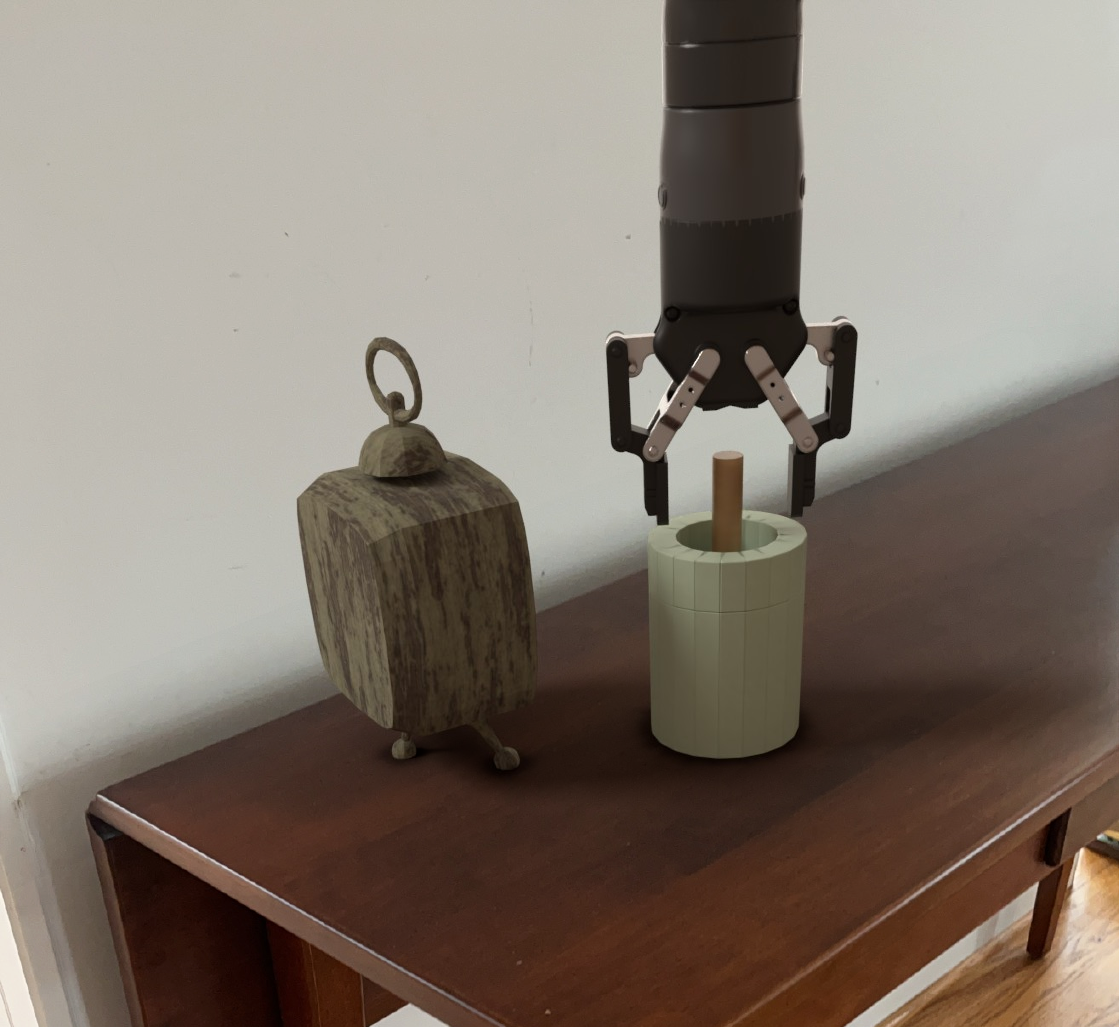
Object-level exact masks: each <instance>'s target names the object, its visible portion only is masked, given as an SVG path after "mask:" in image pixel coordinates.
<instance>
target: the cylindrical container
mask: <svg viewBox="0 0 1119 1027" xmlns="http://www.w3.org/2000/svg"><path fill="white" fill-rule="evenodd" d="M807 552H808V533H807V531H806V528H805V526H804V525H802V523H799V522H798V521H797V520H795V519H794V518H793V519H792V518H790V517H786V516H783V515H780V514H776V513H772V512H767V511H759V510H747V509H743V511H742V551H741V552H725V553H721V552H712V510H705V511H699V512H693V513H687V514H683V515H680V516H676V517H672V518H669V525H662V526H657V525H655V526H654V527H653V529H651V531H650V532H649V533H647V564H648V565H647V571H648V574H647V575H648V576H647V577H648V581H647V582H648V625H649V626H648V628H649V630H648V632H649V672H650V673H649V676H650V724H651V733H652V735H653V736H654V737H655V739H657V741H658V742H659V743H660V744H661V745H663V746H665V747H667V748H669V749H671V750H672V751H674V752H678V753H682V754H685V755H689V756H693V757H698V758H707V759H708V758H710V759H720V760H721V759H739V758H740V759H741V758H747V757H751V756H757V755H761V754H765V753H768V752H772V751H773V750H776V749H778V748H781V747H782V746H784V745H786V744H788V742H789V741H791V740H792V739H793V738H794V737H795V736H796V733H797V731H798V729H799V726H800V706H801V705H800V704H801V686H802V684H801V683H802V682H801V681H802V663H803V644H804V643H803V639H804V618H805V600H806V599H805V598H806V597H805V595H806V579H807V578H806V574H807V556H808V555H807V554H808V553H807Z"/></svg>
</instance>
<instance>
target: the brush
mask: <svg viewBox="0 0 1119 1027" xmlns="http://www.w3.org/2000/svg"><path fill="white" fill-rule="evenodd" d="M744 460H745V459H744V453H743V452H741V451H738V450H721V451H717V452H715V453H713V454H712V456H711V511H712V552H721V553H725V552H741V551H742V511H743V510H744V509H743V507H744V504H743V502H744V501H743V500H744Z"/></svg>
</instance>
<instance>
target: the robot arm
mask: <svg viewBox="0 0 1119 1027" xmlns="http://www.w3.org/2000/svg"><path fill="white" fill-rule="evenodd" d="M805 1H806V0H662V3H661V4H662V5H661V22H660V23H661V24H660V25H661V26H660V27H661V29H660V31H661V32H660V33H661V38H660V39H661V42H662V43H661V93H662V95H661V97H662V98H661V99H662V100H661V101H662V102H661V103H662V104H663V106H662V112H661V114H662V115H661V129H660V138H659V148H658V188H657V201H658V202H657V203H658V205H659V206H658V211H659V212H658V217H659V218H658V220H659V276H660V277H659V280H660V281H659V282H660V284H659V285H660V313H659V314H660V315H659V319H658V322H657V324H656V326H655V328H654V331H653V332H645V333H631V334H624V332H623V331H620V330H613V331H611V332H609V333H608V334H607V336H606V338H605V357H606V358H605V360H606V376H607V378H606V379H607V397H608V399H607V400H608V414H609V415H608V417H609V434H610V445H611V448H612V449H613V450H614V451H615V452H617V453H625V452H626V453H629V454H631V455H635V456H637V457H638V458H639V459H640V460H641V462H642V476H643V477H642V478H643V479H642V480H643V504H644V506H643V507H644V509H645V511H646V514H647V517H655V521H656V526H662V525H669V519H670V510H669V508H670V506H669V505H670V504H669V500H670V499H669V461H668V455H667V449H668V447H669V445H670V444H671V443H672V441H673V439H674V437H675V435H676V434H677V432H678V431H679V430H680V429H681V428H682V426H683V425H684V423H685V421H686V420H687V418H688V416H689V415H690V413H691V412H692V410H693V409H694V407H696V408H699V409H701V411H702V412H714V411H716V412H717V411H720V410H722V409H725V408H728V407H734V408H738V409H739V408H740V409H744V410H747V409H748V410H749V409H759V405H762V404H764V403H766V402H767V401H768V402H769V404H770V405H771V407H772V408H773V410H774V412H775V413H776V415H777V417H778V418H779V420H780V421H781V423H782V424H783V425H784V427H785V428H786V430H787V432H788V434H789V435H790V437H791V438H792V443H790V444H788V455H787V457H788V458H787V482H786V486H787V488H786V510H787V513H788V516H789V518H790V519H792V518H793V519H794V518H803V515H804V508H808V507H812V505H813V503H814V500H815V497H816V496H815V495H816V479H817V478H816V474H817V454H818V451H819V449H820V448H821V447H822V446H823V445H825V444H826V443H829V442H831V441H833V440H843V439H845V438H847V437H848V435H849V434H850V433H851V430H852V421H853V420H852V418H853V406H854V393H855V392H854V391H855V380H856V367H857V366H856V364H857V350H858V338H859V333H858V330H857V329H856V327H855V326H854V324H853V323H852V321H850V319H849V318H848V317H847V316H845V315H838V316H836V317H835V318H833V319H832V320H831V321H827V322H826V321H825V322H824V321H823V322H805V320H804V318H803V315H802V311H801V303H800V302H801V301H800V300H801V277H802V276H801V274H802V273H801V272H802V249H803V246H802V245H803V219H804V199H805V195H806V191H807V177H806V174H805V162H806V146H805V131H804V120H803V119H804V118H803V99H802V97H801V96H802V95H803V78H804V52H805V51H804V49H805V48H804V47H805V34H804V33H805ZM808 345H809V346H812V347H813V348H814V350H815V356H816V358H817V360H818V362H819V363H820V364H821V365H823V366H825V367H826V375H825V376H826V377H825V391H824V407H823V408H824V409H823V412H822V413H820V414H817V415H815V416H813V417H811V418H808V416H807V414H806V413H805V411H804V410H803V408H802V406H801V404H800V403H799V401H798V398H796V395H795V394H794V392H793V391H792V388H791V387H790V385H789V384H788V382H787V381H786V379H785V378H786V376H787V375H788V374H789V372H790V371H791V369H792V368H793V366H794V364H795V363H796V362H797V361H798V359H799V358H800V356H801V355H802V353H803V351H805V349H806V347H807V346H808ZM651 355H654V356H655V358H656V359H657V361H658V362H659V363H660V365H661V366H662V368H663V369H664V370H665V371H666V373H667V374H668V376H669V377H670V378H671V381H670V382H669V385H668V386H667V388H666V390H665V392H664V394H663V395H662V397H661V399H660V401H659V404H658V406H657V408H656V410H655V412H654V414H653V416H652V417H651V419H650V421H649V423H648V424H647V426H646V427H643V426H639V425H637V424H636V425H635V424H633V423H632V410H631V388H630V385H631V384H630V379H633V378H637V377H638V376H640V375H641V373H642V372H643V369H644V362H645V361H646V359H647V358H648V357H649V356H651Z"/></svg>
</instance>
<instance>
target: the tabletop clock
mask: <svg viewBox="0 0 1119 1027" xmlns="http://www.w3.org/2000/svg"><path fill="white" fill-rule="evenodd" d="M379 351H385V352H386V353H387V352H388V353H390V354H391V355H393V356H394V357H396V359H397V360H398V361H399V362H400V363H401V365H402V366H403V368H404V370H405V372H406V374H407V376H408V379H409V382H410V384H411V385H412V391H413V405H412V407H411V408H410V409H406V402H405V396H404V395H403V394H402V392H400V391H395V390H394V391H391V392H389V393H387V395H386V396H385V395H384V393H383V391H382V390H381V389H380V387H379V385H378V384H377V381H376V377H375V372H374V370H375V369H374V364H375V358H376V356H377V354H378V352H379ZM364 359H365V360H364V364H365V366H364V367H365V375H366V379H367V383H368V386H369V389H370V392H371V395H372V397H373V400H374V402H375V403H376V404H377V406H378V407H379V408H380V410H381V411H382V412H383V413H384V414H386V415H387V418H388V424H384V425H381V426H380V427H378V428H376V429H375V430H372V431H371V432H370V433H369V435H367V437H366V439H365V440H364V441H363V444H362V446H361V448H360V452H359V458H358V463H357V464H358V465H356V466H351V467H347V468H341V469H336V470H332V471H327V472H324V473H322V474H321V475H319V476H318V477H317V478H316V479H315V480H313V481H312V483H311V484H310V485H309V486H308V487H307V488H305V490H304V491H302V493H301V494H299V496H298V497H297V498H296V516H297V517H296V518H297V527H298V536H299V543H300V549H301V555H302V562H303V570H304V575H305V582H306V588H307V594H308V599H309V605H310V610H311V616H312V622H313V625H314V632H315V636H316V641H317V646H318V650H319V654H320V657H321V661H322V664H323V667H324V671H325V672H326V673H327V675H328V677H329V679H330V680H331V682H332V683H333V685H334V686H335V687H336V688H337V689H338V690H339V691H340V692H341V693H342V694H343V695H344V696H345V697H346V698H347V699H348V700H349V701H350V702H351V703H352V704H353V705H354V706H355V707H356V708H357V709H358V710H359V711H361V712H362V713H363V714H365V715H366V716H367V717H368V718H370V719H371V720H373V722H375V723H376V724H378V725H379V726H381V727H382V728H384V729H388V730H391V731H395V732H400V733H401V738H398V739H396V740H395V741H394V743H393V745H392V747H391V754H392V757H393V758H394V759H397V760H408V759H411V758H413V757H414V756H416V755H417V747H416V745H415V743H414V741H413V740H412V739H411V735H412V736H416V737H426V736H430V735H433V734H437V733H440V732H444V731H447V730H451V729H454V728H458V727H461V726H464V725H468V726H470V727H471V728H473V729H474V730H475V731H476V732H477V733H478V734H479V735H480V736H481V737H482V738H483V739H484V740H485V742H486V743H487V744H488V745H489V746H490V747H491V748H492V750H493V751H494V752H495V754H494V757H493V762H494V765H495V767H496V769H499V770H502V771H509V770H513V769H516V768H518V767H519V765H520V762H521V758H520V756H519V754H518V751H517V750H516V749H515V748H512V747H509V746H503V745H502V743H501V742H500V740H499V738H498V737H497V735H496V733H495V731H494V730H493V729H492V727H491V725H490V723H489V720H488V718H491V717H494V716H499V715H502V714H506V713H508V712H512V711H515V710H518V709H522V708H525V707H528V706H532V705H534V704H535V699H536V698H535V697H536V693H537V688H538V686H537V685H538V639H537V613H536V602H535V592H534V584H533V574H532V565H531V557H530V556H531V555H530V550H529V543H528V537H527V530H526V526H525V522H524V519H523V514H522V510H521V506H520V501H519V500H518V499H517V497H516V496H515V494H514V493H513V492H512V490H511V489H510V488H509V486H508V485H507V484H506V483H505V482H503V480H502V479H501V478H499V477H497V475H495V474H494V473H493V472H490V471H489V470H487V469H486V468H484V467H483V466H481V465H479V464H478V463H476V462H475V461H473V460H472V459H471V458H469V457H465V456H463V455H460V454H456V453H455V452H450V451H448V450H444V449H443V447H442V445H441V443H440V441H439V440H438V438H437V436H436V435H435V434H434V433H433V431H431V430H430V429H429V428H428V427H426V426H425V425H422V424H419V423H416V422H415V423H414V422H413V421H415V420H417V419H418V418H419V416H420V414H421V411H422V408H423V389H422V384H421V379H420V376H419V372H418V369H417V367H416V364H415V363H414V360H413V357H411V355H410V354H409V352H408V351H407V349H406V348H405V347H404V346H403V345H402V344H400V342H398V341H396V340H394V339H391V338H389V337H386V336H379V337H374V339H373V340H371V341H370V343H369V344H368V345H367V348H366V351H365V358H364Z"/></svg>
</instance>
